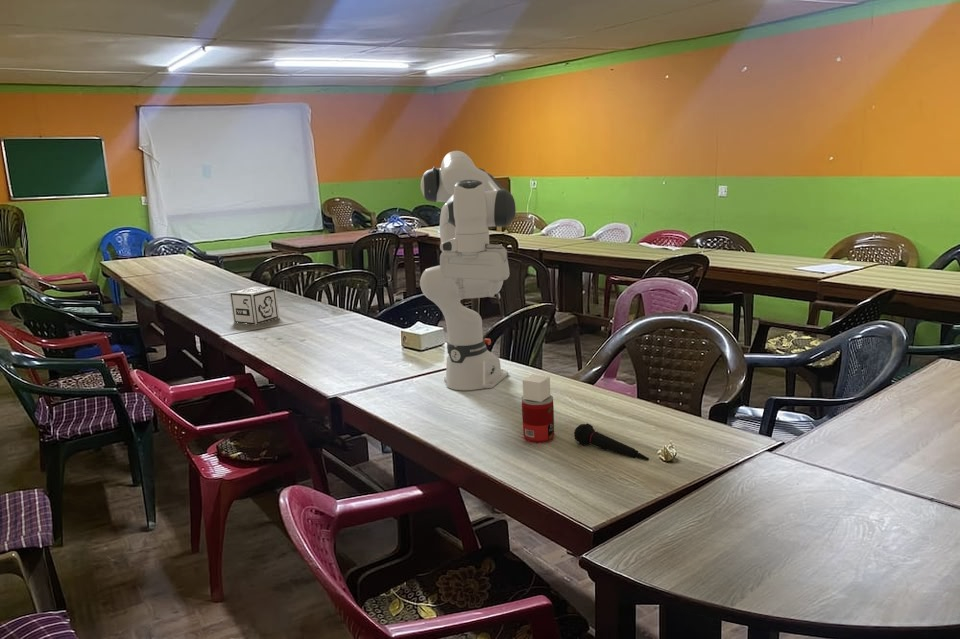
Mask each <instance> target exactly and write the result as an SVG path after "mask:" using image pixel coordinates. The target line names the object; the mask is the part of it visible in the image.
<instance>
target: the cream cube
mask: <svg viewBox="0 0 960 639" xmlns="http://www.w3.org/2000/svg"><path fill="white" fill-rule="evenodd" d="M522 395H523V396H522V397H523V399H526V400H532V401H538V402H542V401H543V400H545V399H546V398H548V397H550V395H551V377H550V376H546V375H538V374H531V375H529V376H527V377H526V378H524V379H522Z"/></svg>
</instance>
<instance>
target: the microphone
mask: <svg viewBox="0 0 960 639" xmlns="http://www.w3.org/2000/svg"><path fill="white" fill-rule="evenodd" d="M595 430H596V429H595V428H594V426H593V425H592V424H589V423H588V422H587V423H582V424H578V426H576V428H575V429H574V432H573V435H574V440H575V441H576V442H577V443H578V444H579V445H580V446H583V447H585V446H589V445H592V446H594V447H597V448H599V449H600V450H603V451H609V452H613V453H615V454H619V455H621V456H624V457H629V458H632V459H636V458H637V459H639V460H644V461H649V459H650V458H649V457H647V456H646V455H644V454H643V453H640V452H639V450H636V449H635V448H633V447H631V446H630V445H626V444H625V443H622V442H620V441H618V440H616V439H614V438H612V437H610V436H607V435H605V434H602V433H600V432H598V431H595Z"/></svg>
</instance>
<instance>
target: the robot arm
mask: <svg viewBox="0 0 960 639" xmlns="http://www.w3.org/2000/svg"><path fill="white" fill-rule="evenodd" d="M420 191H421V193H422V195H423V198H424V199H425V200H426V201H428V202H431V203H437V202H439V203H444V204H443V205H442V207H441V209H440V215H439V235H440V245H439V249H440V251H441V253H440V255H439V265H435V266H431V267H428V268H425V270H423V271H422V273H421V276H420V280H419V286H420V289H421V292H422V294H423V295H424V297H426V298H427V299H428V300H429V301H431V302H432V303H434V304H435V305H436V306H437V307H438V308H439V310H440V311H441V312H442V314H443V318H444V321H445V323H446V324H445V325H446V330H447V339H448V340H447V342H446V350H447V354H448V356H446V363H445V364H446V366H445V367H446V368H445V373H446V374H445V376H444V377H443V378H444V379H443V380H444V382H445V386H446V387H447V388H449V389H450V390H454V391H455V390H456V391H474V390H475V391H476V390H480V389H481V390H482V389H492V388H494V387H495V386H496V385H498V384H499V383H500V382H502V381H503V380H504V379H505V378H506V377H508V375H509V371H508V370H506V369H502V368H501V366H502V365H501V360H500V358H499V357H498V356H497V355H495V354H494V353H493V352H491V351H490V350H488V346H489V345H490V346H491V343H492V341H491V338H486V337H485V338H484V336H483V335H484V333H483V332H484V331H483V320H482V316H481V315H480V314H479V312H478V311H475V310H473V309H470V308H469V307H466V306H464V305H463V304H462V303H461V300H465V299H467V300H468V299H480V298H494V297H495V295H497V294H498V293H499V292H500V291H501V289H502V286H503V284H504V281H506V280H508V278H509V277H510V266H509V260H508V250H507V249H506V247H504V245H502V244H500V243H499V244H497V243H496V244H493V243H490V233H489V232H490V231H489V230H490V229H489V228H490V227H496V228H497V227H499V228H500V227H504V228H505V227H508V226H509V225H510V224H511V223H512V222H514V219H515V218H516V214H517V213H516V212H517V206H516V202H515V197H514V196H513V194H512V193H511V192H510V191H509V190H508V189H506V188H504V187H503V186H502V185H501V184H500V182H499V181H498V180H496V178H495V177H494V176H493V175H492V174H490V173H488V172H487V171H486V170H485V169H483V168H480V167H477V166H476V165H475V164H474V161H473V160H472V158H471V157H470V156H469V155H468V154H466V153H465V152H463V151H461V150H452V151H450V152H448V153H446V155H444V157H443V158H442V161H441V164H440V167H436V166H433V167H432V168H431V169H428V170H426V171H425V172H424V173H423V174H422V176H421V180H420Z"/></svg>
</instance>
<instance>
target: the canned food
mask: <svg viewBox="0 0 960 639" xmlns="http://www.w3.org/2000/svg"><path fill="white" fill-rule="evenodd" d="M521 416H522V418H521V419H522V433H523V438H524V440H525V441H526V442H528V443H530V444H531V443H532V444H545V443H549V442H551V441H553V440H554V438H555V410H554V397H553V395H552V394H550V397H548V398H546V399H545V400H543V401H542V402H538V401H532V400H526V399H523V396H522V397H521Z"/></svg>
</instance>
